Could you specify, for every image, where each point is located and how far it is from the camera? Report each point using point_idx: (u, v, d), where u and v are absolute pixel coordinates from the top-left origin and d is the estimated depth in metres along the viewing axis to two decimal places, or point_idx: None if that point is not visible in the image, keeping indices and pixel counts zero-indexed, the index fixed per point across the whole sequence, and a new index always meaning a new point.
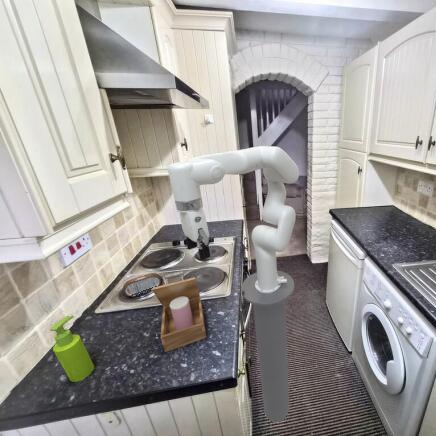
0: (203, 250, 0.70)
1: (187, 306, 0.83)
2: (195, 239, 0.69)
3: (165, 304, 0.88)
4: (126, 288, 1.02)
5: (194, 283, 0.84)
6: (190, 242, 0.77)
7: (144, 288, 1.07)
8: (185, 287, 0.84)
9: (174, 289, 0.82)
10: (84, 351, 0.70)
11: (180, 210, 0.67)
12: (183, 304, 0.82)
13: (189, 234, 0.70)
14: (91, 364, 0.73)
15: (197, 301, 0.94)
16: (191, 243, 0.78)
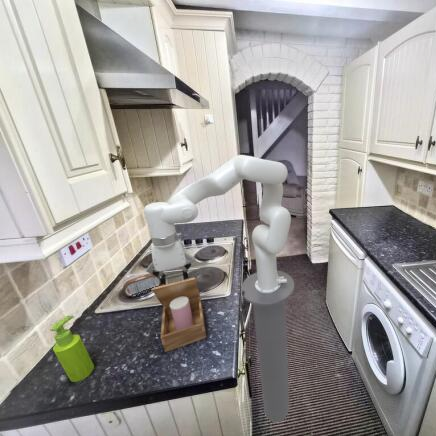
0: (186, 272, 0.84)
1: (187, 306, 0.83)
2: (185, 262, 0.81)
3: (165, 304, 0.88)
4: (126, 288, 1.02)
5: (194, 283, 0.84)
6: None
7: (144, 288, 1.07)
8: (185, 287, 0.84)
9: (174, 289, 0.82)
10: (84, 351, 0.70)
11: (170, 243, 0.76)
12: (183, 304, 0.82)
13: (175, 263, 0.80)
14: (91, 364, 0.73)
15: (197, 301, 0.94)
16: (165, 280, 0.82)
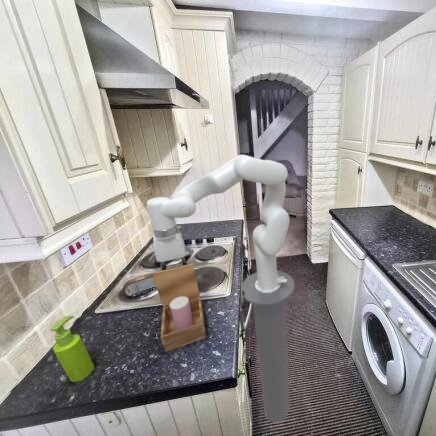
0: (186, 263, 0.90)
1: (187, 306, 0.83)
2: (185, 253, 0.87)
3: (165, 302, 0.88)
4: (126, 288, 1.02)
5: (192, 271, 0.88)
6: None
7: (144, 288, 1.07)
8: (184, 276, 0.87)
9: (173, 278, 0.86)
10: (84, 351, 0.70)
11: (171, 235, 0.81)
12: (183, 304, 0.82)
13: (175, 254, 0.85)
14: (91, 364, 0.73)
15: (197, 301, 0.94)
16: None
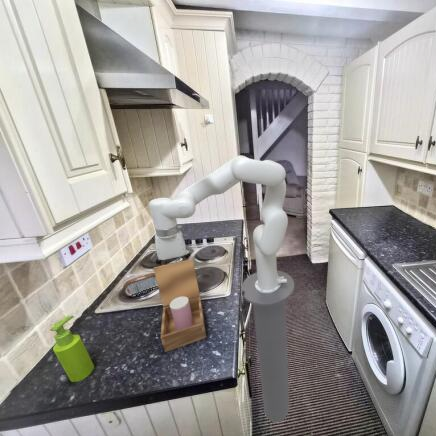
0: None
1: (187, 306, 0.83)
2: (185, 252, 0.90)
3: (165, 301, 0.89)
4: (126, 288, 1.02)
5: (192, 267, 0.91)
6: None
7: (144, 288, 1.07)
8: (184, 272, 0.90)
9: (173, 273, 0.88)
10: (84, 351, 0.70)
11: (172, 235, 0.85)
12: (183, 304, 0.82)
13: (176, 252, 0.89)
14: (91, 364, 0.73)
15: (197, 301, 0.94)
16: None
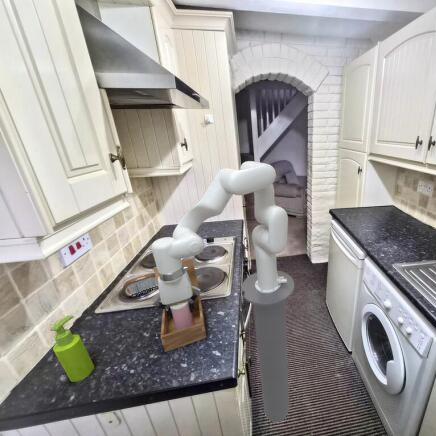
0: (193, 303, 0.85)
1: (187, 306, 0.83)
2: (191, 294, 0.82)
3: None
4: (126, 288, 1.02)
5: (192, 267, 0.91)
6: None
7: (144, 288, 1.07)
8: None
9: None
10: (84, 351, 0.70)
11: (177, 278, 0.76)
12: (183, 304, 0.82)
13: (182, 296, 0.80)
14: (91, 364, 0.73)
15: (197, 301, 0.94)
16: (171, 312, 0.83)
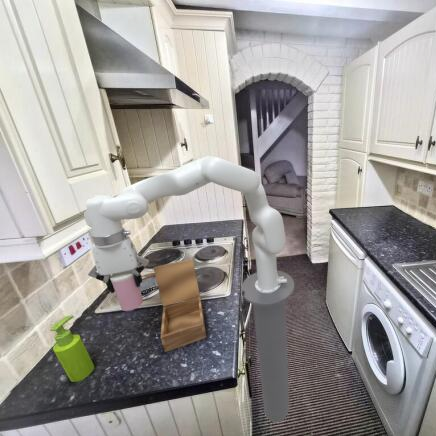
0: (139, 275, 0.74)
1: (131, 278, 0.72)
2: (136, 265, 0.71)
3: (165, 301, 0.89)
4: None
5: (192, 267, 0.91)
6: None
7: (144, 288, 1.07)
8: (184, 272, 0.90)
9: (174, 273, 0.88)
10: (84, 351, 0.70)
11: (114, 243, 0.65)
12: (126, 276, 0.71)
13: (123, 265, 0.69)
14: (91, 364, 0.73)
15: (197, 301, 0.94)
16: None
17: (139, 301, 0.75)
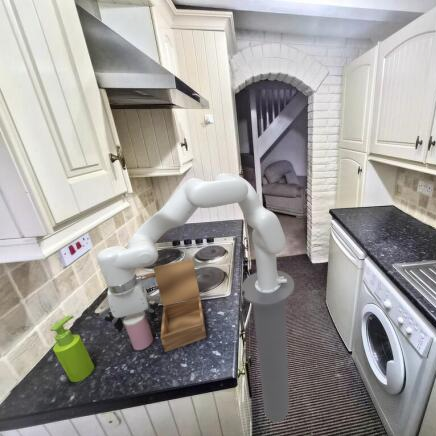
0: (154, 311, 0.80)
1: (143, 321, 0.78)
2: (147, 306, 0.77)
3: (165, 301, 0.89)
4: None
5: (192, 267, 0.91)
6: (120, 324, 0.76)
7: None
8: (184, 272, 0.90)
9: (174, 273, 0.88)
10: (84, 351, 0.70)
11: (127, 290, 0.71)
12: (138, 319, 0.77)
13: (135, 308, 0.75)
14: (91, 364, 0.73)
15: (197, 301, 0.94)
16: (120, 324, 0.77)
17: (149, 340, 0.81)
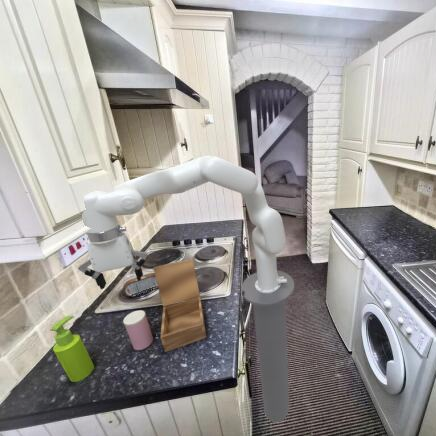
0: (140, 269, 0.73)
1: (143, 321, 0.78)
2: (132, 261, 0.70)
3: (165, 301, 0.89)
4: (126, 288, 1.02)
5: (192, 267, 0.91)
6: (102, 280, 0.70)
7: (144, 288, 1.07)
8: (184, 272, 0.90)
9: (174, 273, 0.88)
10: (84, 351, 0.70)
11: (109, 239, 0.64)
12: (138, 319, 0.77)
13: (119, 262, 0.68)
14: (91, 364, 0.73)
15: (197, 301, 0.94)
16: (102, 281, 0.70)
17: (149, 340, 0.81)
